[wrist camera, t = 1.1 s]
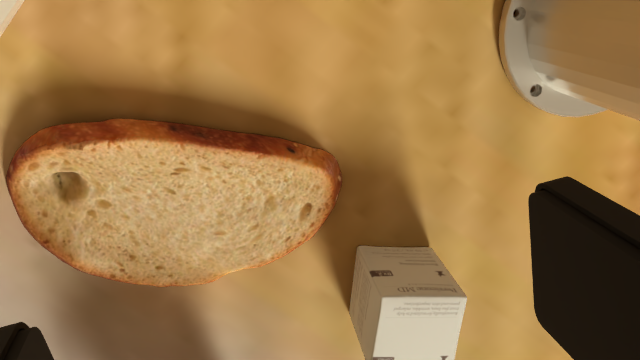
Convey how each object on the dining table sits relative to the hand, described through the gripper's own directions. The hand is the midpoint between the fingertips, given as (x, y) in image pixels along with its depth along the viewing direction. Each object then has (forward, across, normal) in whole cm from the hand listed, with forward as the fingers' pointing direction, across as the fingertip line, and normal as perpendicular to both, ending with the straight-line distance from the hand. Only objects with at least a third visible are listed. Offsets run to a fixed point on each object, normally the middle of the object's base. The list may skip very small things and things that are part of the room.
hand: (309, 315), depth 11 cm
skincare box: (+28, -8, +18) cm, 35 cm away
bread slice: (+29, +5, +7) cm, 30 cm away
